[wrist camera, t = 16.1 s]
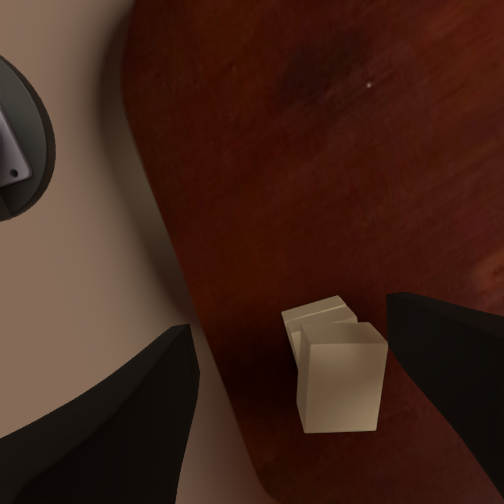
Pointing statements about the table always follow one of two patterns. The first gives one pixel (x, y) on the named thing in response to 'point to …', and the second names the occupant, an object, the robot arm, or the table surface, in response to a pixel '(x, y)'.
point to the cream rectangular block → (340, 376)
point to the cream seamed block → (315, 318)
